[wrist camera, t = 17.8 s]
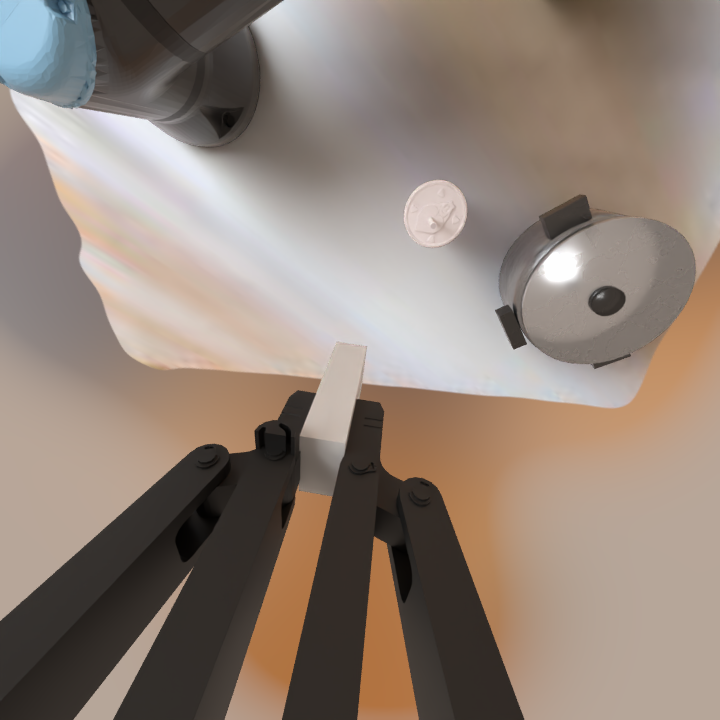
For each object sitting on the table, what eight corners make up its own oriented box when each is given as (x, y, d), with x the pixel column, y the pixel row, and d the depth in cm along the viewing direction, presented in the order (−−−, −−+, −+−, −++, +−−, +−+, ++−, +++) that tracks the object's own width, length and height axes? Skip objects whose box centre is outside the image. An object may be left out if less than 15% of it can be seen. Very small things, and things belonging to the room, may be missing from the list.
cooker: (611, 159, 37) (665, 157, 29) (646, 309, 45) (697, 339, 37) (461, 242, 43) (473, 259, 35) (515, 361, 51) (534, 396, 43)
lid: (674, 180, 30) (690, 181, 28) (698, 322, 36) (713, 330, 34) (499, 269, 35) (503, 274, 34) (545, 378, 41) (551, 388, 40)
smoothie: (394, 199, 42) (389, 212, 30) (440, 165, 39) (454, 164, 27) (420, 242, 44) (425, 271, 32) (464, 212, 41) (488, 231, 29)
